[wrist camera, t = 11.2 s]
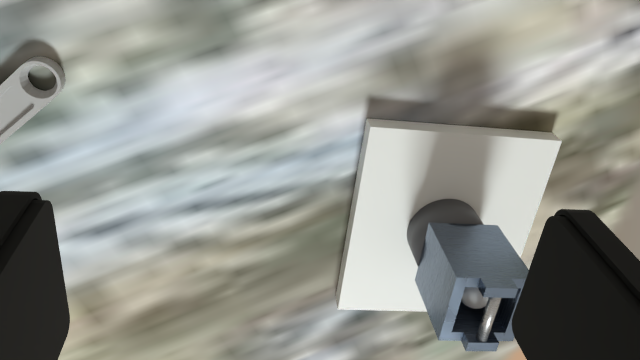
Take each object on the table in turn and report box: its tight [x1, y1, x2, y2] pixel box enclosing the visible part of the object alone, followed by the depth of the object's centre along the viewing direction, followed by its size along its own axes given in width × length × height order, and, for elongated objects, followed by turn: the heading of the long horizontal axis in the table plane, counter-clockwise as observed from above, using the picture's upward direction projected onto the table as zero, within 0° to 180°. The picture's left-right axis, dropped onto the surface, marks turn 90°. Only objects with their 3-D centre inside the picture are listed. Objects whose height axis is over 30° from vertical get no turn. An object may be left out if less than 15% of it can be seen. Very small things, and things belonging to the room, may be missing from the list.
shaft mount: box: [336, 118, 562, 311], centre depth 40 cm, size 16×14×10 cm
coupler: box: [415, 222, 529, 351], centre depth 37 cm, size 5×5×7 cm
